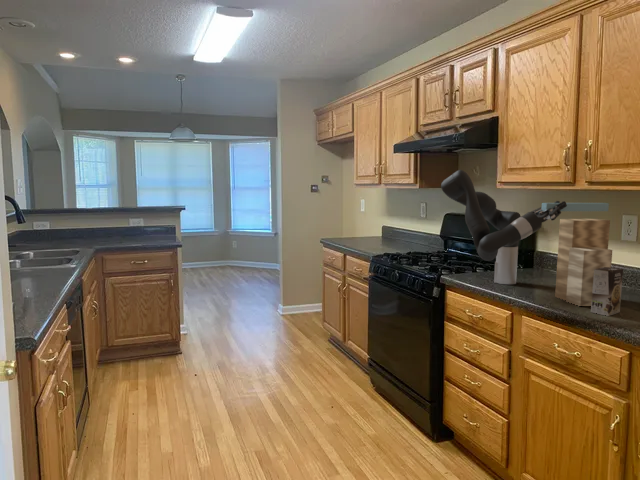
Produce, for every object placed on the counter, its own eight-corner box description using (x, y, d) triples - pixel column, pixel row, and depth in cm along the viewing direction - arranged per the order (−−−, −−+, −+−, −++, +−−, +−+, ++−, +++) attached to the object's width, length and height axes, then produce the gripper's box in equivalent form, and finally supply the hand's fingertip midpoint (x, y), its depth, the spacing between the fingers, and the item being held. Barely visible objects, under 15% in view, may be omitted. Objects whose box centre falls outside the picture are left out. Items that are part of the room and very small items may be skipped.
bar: (546, 211, 182) (546, 203, 182) (541, 210, 185) (541, 202, 185) (608, 211, 187) (608, 203, 186) (602, 210, 190) (603, 202, 189)
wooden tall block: (568, 301, 192) (573, 220, 188) (555, 296, 200) (560, 219, 196) (604, 300, 195) (610, 220, 191) (589, 295, 203) (595, 218, 199)
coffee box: (609, 316, 172) (612, 271, 170) (590, 312, 177) (593, 268, 175) (620, 312, 177) (624, 268, 175) (602, 308, 182) (605, 266, 180)
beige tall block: (580, 307, 184) (584, 250, 182) (566, 301, 192) (569, 247, 190) (608, 305, 186) (612, 249, 184) (593, 300, 194) (596, 247, 192)
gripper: (531, 219, 176) (570, 195, 177) (510, 216, 190) (546, 193, 191) (540, 236, 177) (578, 212, 179) (518, 232, 191) (554, 210, 192)
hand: (562, 203), depth 185 cm, fingers closed on bar, 3 cm apart
